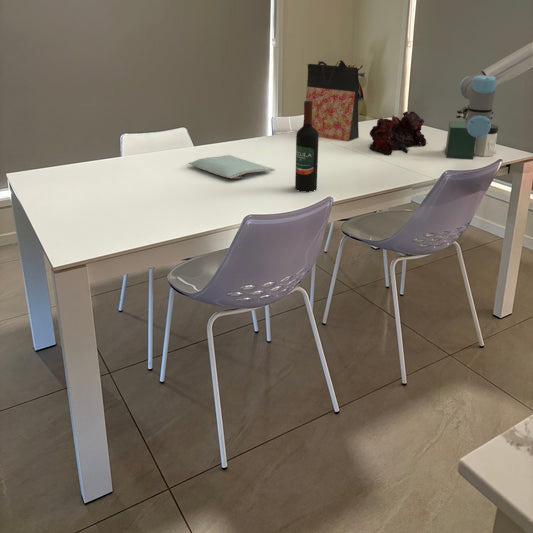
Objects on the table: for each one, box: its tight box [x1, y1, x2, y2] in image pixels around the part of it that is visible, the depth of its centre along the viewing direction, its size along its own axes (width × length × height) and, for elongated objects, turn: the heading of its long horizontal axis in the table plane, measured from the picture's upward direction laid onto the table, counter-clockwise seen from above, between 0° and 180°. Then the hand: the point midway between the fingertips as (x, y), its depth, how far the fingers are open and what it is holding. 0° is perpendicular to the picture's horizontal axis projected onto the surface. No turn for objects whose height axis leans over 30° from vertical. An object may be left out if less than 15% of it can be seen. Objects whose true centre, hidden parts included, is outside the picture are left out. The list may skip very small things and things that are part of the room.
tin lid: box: [448, 120, 467, 130], centre depth 245 cm, size 13×11×1 cm
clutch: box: [188, 155, 273, 179], centre depth 228 cm, size 28×4×20 cm
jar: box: [473, 123, 499, 158], centre depth 248 cm, size 9×8×12 cm
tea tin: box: [445, 125, 476, 160], centre depth 247 cm, size 13×11×12 cm
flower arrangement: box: [368, 110, 427, 156], centre depth 259 cm, size 31×20×15 cm, turn 137°
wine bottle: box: [294, 100, 320, 193], centre depth 201 cm, size 8×8×30 cm
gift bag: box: [302, 59, 366, 142], centre depth 274 cm, size 29×14×35 cm, turn 53°
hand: (471, 107), depth 229 cm, fingers closed
